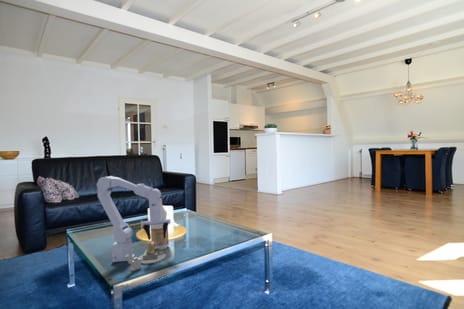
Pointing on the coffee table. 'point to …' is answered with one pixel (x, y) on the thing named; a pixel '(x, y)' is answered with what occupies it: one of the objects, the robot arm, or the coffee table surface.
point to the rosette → (152, 257)
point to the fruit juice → (160, 232)
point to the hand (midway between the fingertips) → (157, 238)
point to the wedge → (151, 248)
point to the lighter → (134, 262)
